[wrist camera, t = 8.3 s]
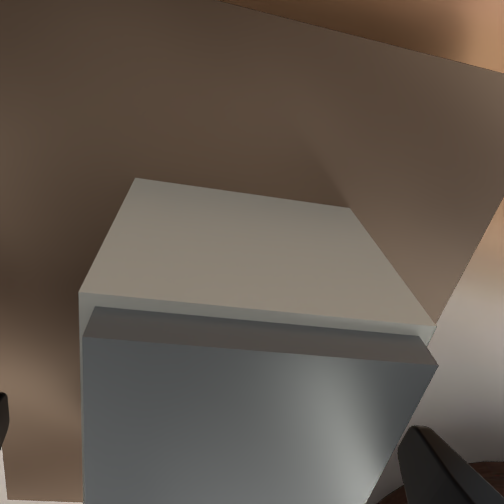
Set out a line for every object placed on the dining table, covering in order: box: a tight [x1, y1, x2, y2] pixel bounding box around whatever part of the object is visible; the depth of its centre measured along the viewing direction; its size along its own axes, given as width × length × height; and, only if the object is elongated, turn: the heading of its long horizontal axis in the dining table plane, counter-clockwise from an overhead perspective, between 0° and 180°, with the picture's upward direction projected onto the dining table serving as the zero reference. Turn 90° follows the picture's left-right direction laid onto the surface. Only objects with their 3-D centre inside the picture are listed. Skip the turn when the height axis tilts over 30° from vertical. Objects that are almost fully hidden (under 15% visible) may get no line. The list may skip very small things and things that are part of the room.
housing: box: [78, 178, 439, 504], centre depth 9 cm, size 9×5×5 cm, turn 170°
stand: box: [0, 0, 504, 502], centre depth 13 cm, size 16×12×3 cm
